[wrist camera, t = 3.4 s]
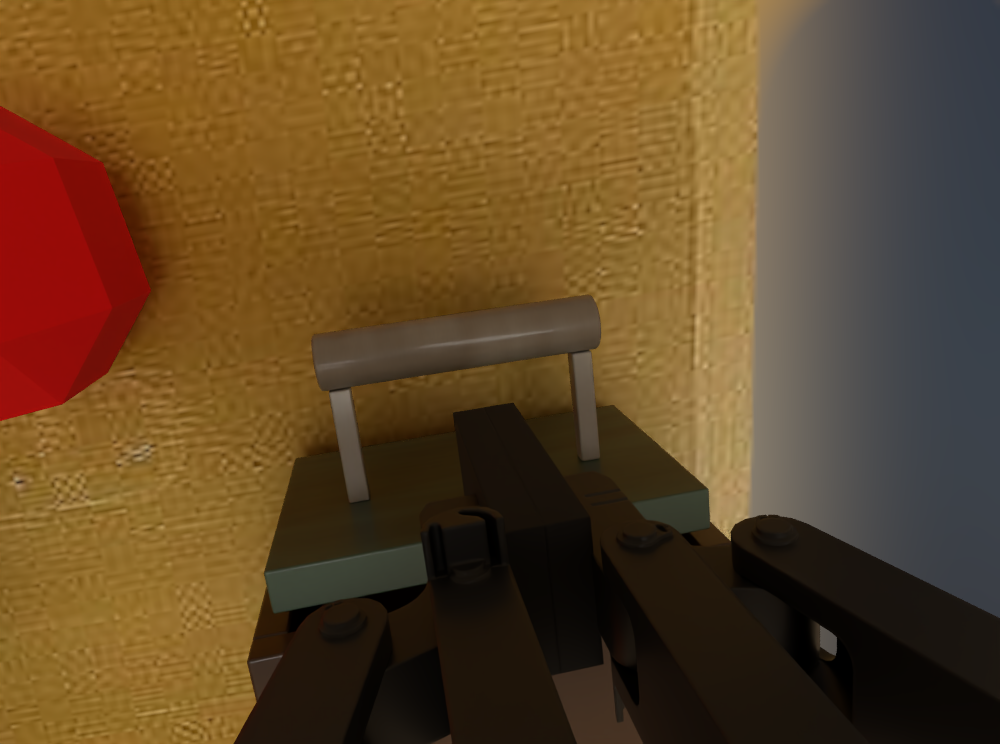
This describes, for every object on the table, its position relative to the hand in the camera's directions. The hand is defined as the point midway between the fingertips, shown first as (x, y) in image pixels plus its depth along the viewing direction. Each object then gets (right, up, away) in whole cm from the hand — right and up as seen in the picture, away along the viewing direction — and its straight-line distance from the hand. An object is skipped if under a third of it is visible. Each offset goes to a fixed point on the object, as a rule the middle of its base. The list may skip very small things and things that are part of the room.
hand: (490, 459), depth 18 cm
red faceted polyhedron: (-15, +6, +5) cm, 17 cm away
